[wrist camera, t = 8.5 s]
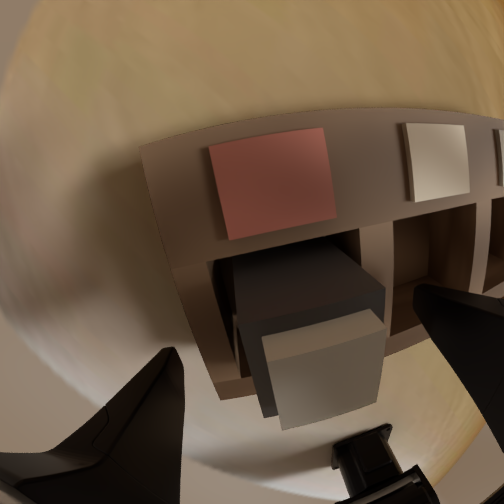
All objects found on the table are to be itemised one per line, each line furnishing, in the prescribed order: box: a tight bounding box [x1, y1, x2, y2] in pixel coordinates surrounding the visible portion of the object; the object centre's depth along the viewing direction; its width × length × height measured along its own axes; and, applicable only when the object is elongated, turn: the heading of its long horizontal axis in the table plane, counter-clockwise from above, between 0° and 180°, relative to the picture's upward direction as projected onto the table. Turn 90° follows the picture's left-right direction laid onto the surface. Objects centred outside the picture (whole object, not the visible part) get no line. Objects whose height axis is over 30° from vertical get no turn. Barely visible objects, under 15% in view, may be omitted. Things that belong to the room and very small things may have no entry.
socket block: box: [139, 108, 504, 400], centre depth 12 cm, size 11×22×5 cm, turn 101°
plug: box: [232, 236, 387, 430], centre depth 10 cm, size 4×4×8 cm
